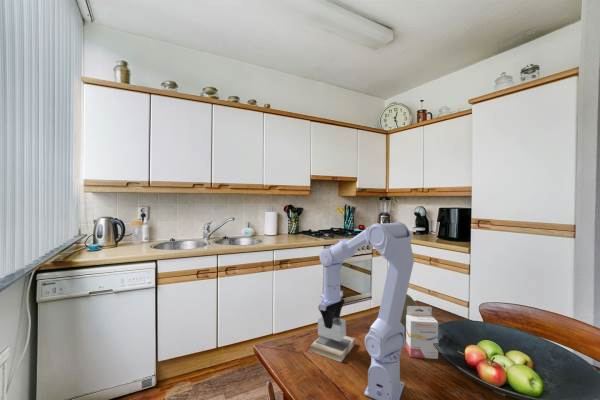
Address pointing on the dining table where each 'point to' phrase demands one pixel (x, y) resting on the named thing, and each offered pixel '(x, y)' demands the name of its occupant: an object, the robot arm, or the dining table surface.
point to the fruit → (408, 302)
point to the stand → (332, 347)
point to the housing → (332, 329)
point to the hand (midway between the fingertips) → (332, 324)
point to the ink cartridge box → (421, 332)
